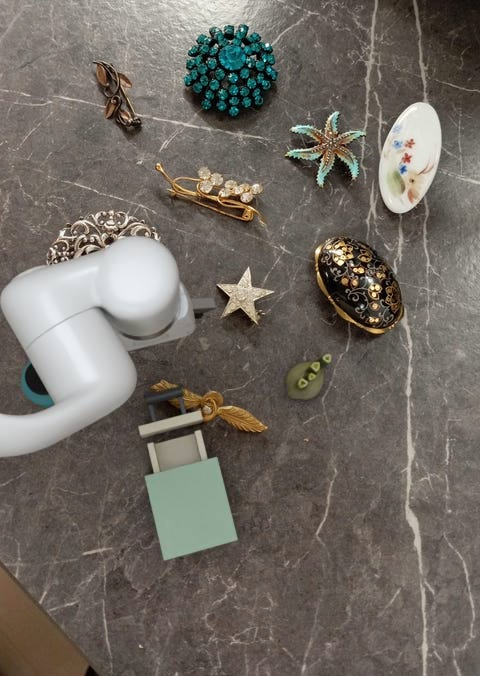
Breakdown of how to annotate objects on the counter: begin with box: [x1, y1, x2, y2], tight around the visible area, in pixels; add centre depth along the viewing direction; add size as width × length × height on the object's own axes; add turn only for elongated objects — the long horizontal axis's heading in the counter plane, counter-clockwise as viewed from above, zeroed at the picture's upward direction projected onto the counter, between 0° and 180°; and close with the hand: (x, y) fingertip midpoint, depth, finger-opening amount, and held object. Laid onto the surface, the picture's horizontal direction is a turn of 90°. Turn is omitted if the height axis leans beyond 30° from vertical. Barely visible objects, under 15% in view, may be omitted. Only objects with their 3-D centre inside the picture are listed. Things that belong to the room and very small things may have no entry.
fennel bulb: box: [284, 353, 333, 401], centre depth 119 cm, size 6×5×12 cm
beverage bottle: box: [20, 360, 55, 410], centre depth 113 cm, size 6×7×20 cm
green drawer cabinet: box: [144, 456, 239, 562], centre depth 116 cm, size 10×9×8 cm
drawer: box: [137, 385, 209, 474], centre depth 118 cm, size 13×8×7 cm, turn 15°
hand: (148, 330), depth 106 cm, fingers open, 6 cm apart
